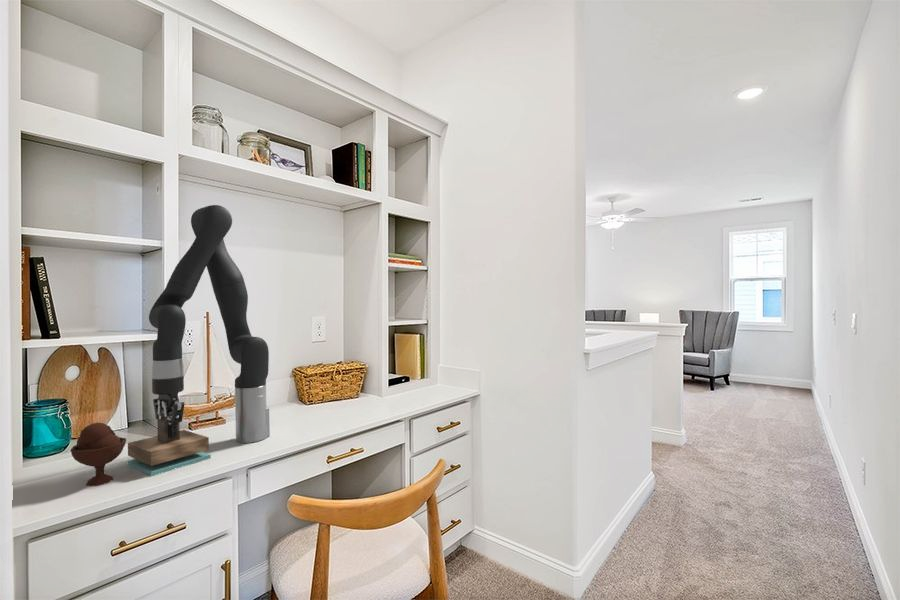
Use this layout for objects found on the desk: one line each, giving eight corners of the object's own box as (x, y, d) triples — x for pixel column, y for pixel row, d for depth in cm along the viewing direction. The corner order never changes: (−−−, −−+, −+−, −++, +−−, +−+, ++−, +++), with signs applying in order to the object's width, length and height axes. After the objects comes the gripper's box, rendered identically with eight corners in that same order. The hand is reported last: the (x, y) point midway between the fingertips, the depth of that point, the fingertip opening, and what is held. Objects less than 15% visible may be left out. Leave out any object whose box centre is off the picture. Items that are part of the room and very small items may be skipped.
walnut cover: (184, 441, 134) (183, 410, 134) (208, 449, 125) (208, 416, 126) (127, 455, 122) (127, 421, 122) (151, 465, 113) (150, 428, 114)
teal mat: (185, 449, 134) (185, 445, 134) (210, 458, 126) (210, 454, 126) (127, 464, 122) (127, 461, 122) (151, 476, 113) (151, 472, 113)
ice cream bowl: (132, 479, 111) (131, 420, 111) (75, 494, 103) (73, 430, 103) (122, 469, 118) (120, 413, 118) (67, 483, 110) (66, 423, 110)
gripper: (194, 375, 123) (195, 437, 123) (170, 371, 131) (171, 429, 131) (164, 379, 117) (166, 444, 117) (141, 375, 125) (142, 436, 125)
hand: (169, 436), depth 124 cm, fingers closed on walnut cover, 4 cm apart
